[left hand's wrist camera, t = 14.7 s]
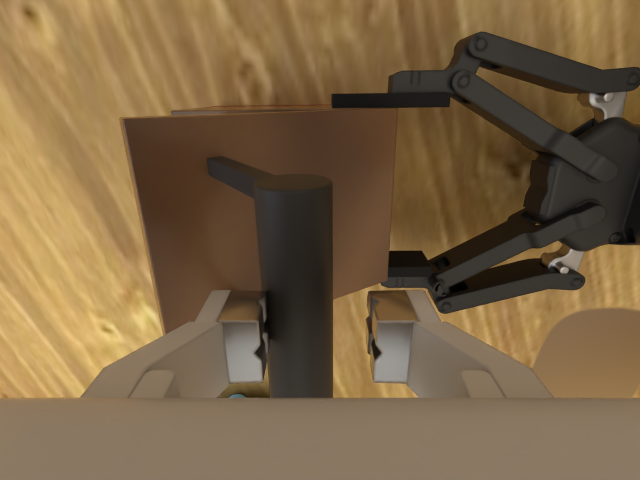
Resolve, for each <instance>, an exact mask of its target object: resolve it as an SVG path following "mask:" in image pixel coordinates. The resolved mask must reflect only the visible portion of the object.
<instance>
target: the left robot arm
mask: <svg viewBox="0 0 640 480" xmlns="http://www.w3.org/2000/svg"><path fill="white" fill-rule="evenodd" d="M367 308H368V313H369V316H368V318H367V319H366V344H367V351H368V354H370V367H371V372H372V377H373V382H374V383H407V386H408V387H409V388H410V389H411V390H412V391H413V392H414V393H415V394H416V395H417V396H418V397H419V398H217V397H218V396H219V395H220V394H221V393H222V392H223V391H224V390H225V389H226V388H227V387H228V386H229V383H263V379H264V374H265V369H266V355H267V354H268V353H269V349H270V340H271V336H270V323H269V320H268V318H267V315H268V311H269V304H268V291H247V290H214V291H212V292H211V293H210V295H209V297H208V299H207V300H206V302H205V304H204V306H203V308H202V309H201V311H200V313H199V315H198V316H197V318H196V320H195V322H188V323H186V324H184V325H182V326H180V327H179V328H177V329H175V330H173V331H171V332H169V333H167V334H166V335H164V336H162V337H160V338H158V339H156V340H155V341H153V342H151V343H149V344H147V345H145V346H143V347H142V348H140V349H138V350H136V351H134V352H132V353H131V354H129V355H127V356H125V357H123V358H121V359H120V360H118V361H116V362H114V363H112V364H110V365H108V366H107V367H105V368H103V370H102V371H101V372H100V373H99V375H98V376H97V377H96V378H95V380H94V381H93V382H92V383H91V385H90V386H89V387H88V388H87V390H86V391H85V392H84V393H83V395H82V396H81V397H80V398H0V480H640V398H554V397H553V395H552V394H551V393H550V392H549V390H548V389H547V388H546V386H545V385H544V384H543V383H542V381H541V380H540V379H539V377H538V376H537V375H536V373H535V372H534V371H533V370H532V368H530V367H528V366H526V365H524V364H523V363H521V362H519V361H517V360H515V359H513V358H512V357H510V356H508V355H506V354H504V353H503V352H501V351H499V350H497V349H495V348H493V347H492V346H490V345H488V344H486V343H484V342H483V341H481V340H479V339H477V338H475V337H474V336H472V335H470V334H468V333H466V332H464V331H463V330H461V329H459V328H457V327H455V326H454V325H452V324H450V323H448V322H441V320H440V318H439V317H438V315H437V313H436V311H435V309H434V308H433V306H432V304H431V302H430V300H429V298H428V297H427V295H426V293H425V291H423V290H392V291H369V292H368V296H367Z"/></svg>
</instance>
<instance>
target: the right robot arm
mask: <svg viewBox="0 0 640 480" xmlns="http://www.w3.org/2000/svg"><path fill="white" fill-rule="evenodd" d="M478 67H482V68H485V69H488V70H491V71H494V72H498V73H501V74H504V75H507V76H510V77H514V78H517V79H520V80H523V81H526V82H530V83H533V84H536V85H539V86H542V87H546V88H549V89H552V90H555V91H559V92H563V93H571V94H578V96H577V100H578V101H580V104H581V105H582V106H584V107H588V108H590V109H592V110H593V112H594V118H593V119H591V120H589V121H587V122H586V123H584V124H583V125H581V126H580V127H578V128H577V129H575V130H573V131H572V132H570V133H567V132H565V131H563V130H560V129H558V128H556V127H554V126H553V125H551V124H550V123H548V122H547V121H545V120H544V119H542V118H540V117H539V116H537V115H536V114H534V113H533V112H531V111H530V110H528V109H527V108H525V107H524V106H522V105H521V104H519V103H518V102H516V101H515V100H513V99H512V98H510V97H509V96H507V95H506V94H504V93H503V92H501V91H500V90H498V89H497V88H495V87H494V86H492V85H491V84H489V83H488V82H486V81H484V80H483V79H481V78H480V77H478V76H477V75H475V74H476V72H477V70H478ZM639 85H640V68H638V67H630V68H619V69H607V70H601V69H598V68H595V67H592V66H589V65H586V64H583V63H580V62H577V61H573V60H570V59H567V58H564V57H561V56H558V55H555V54H552V53H549V52H546V51H542V50H539V49H536V48H533V47H530V46H527V45H524V44H521V43H518V42H515V41H512V40H508V39H505V38H502V37H499V36H496V35H493V34H490V33H487V32H479V33H476V34H473V35H471V36H468V37H466V38H464V39H461V40H460V41H459V42H457V44H456V46H455V48H454V55H453V58H452V60H451V62H450V64H449V65H448V67H447V68H445V69H444V70H424V71H400V72H397V73H395V74H393V75H390V76H389V81H388V93H371V94H332V108H371V107H386V108H408V107H449V104H450V97H452V98H453V99H455V100H456V101H458V102H459V103H461V104H463V105H464V106H466V107H467V108H469V109H470V110H472V111H473V112H475V113H477V114H478V115H480V116H481V117H483V118H484V119H486V120H488V121H489V122H491V123H492V124H494V125H495V126H497V127H499V128H500V129H502V130H503V131H505V132H506V133H508V134H509V135H511V136H513V137H514V138H516V139H517V140H519V141H520V142H522V144H523V145H524V146H526V147H527V148H529V149H531V150H532V151H534V152H535V153H537V154H538V155H539V156H538V158H537V160H532V164H531V169H530V178H531V185H530V187H529V189H528V191H527V193H526V195H525V200H524V205H523V206H524V207H526V208H524V209H522V210H521V211H519V212H517V213H515V214H513V215H511V216H509V217H508V220H507V221H506V222H504V223H502V224H500V225H498V226H496V227H494V228H492V229H490V230H488V231H486V232H484V233H482V234H480V235H478V236H476V237H474V238H472V239H470V240H468V241H466V242H464V243H462V244H460V245H458V246H456V247H454V248H452V249H450V250H448V251H446V252H444V253H442V254H440V255H438V256H436V257H434V258H432V259H430V260H427V258H426V257H425V255H424V254H423V252H422V251H389V261H388V277H387V281H384V282H381V285H382V286H385V287H388V288H396V287H397V288H402V287H403V288H427V289H428V292H429V294H430V296H431V298H432V300H433V301H434V303H435V305H436V307H437V309H438V311H439V312H441V313H444V314H445V313H451V312H455V311H459V310H463V309H467V308H472V307H476V306H480V305H484V304H488V303H492V302H496V301H500V300H505V299H509V298H513V297H517V296H521V295H525V294H529V293H534V292H538V291H542V290H546V289H561V290H577V289H580V288H581V287H582V286H583V285H584V283H585V277H584V276H583V275H581V274H580V273H578V269H579V266H580V263H581V260H582V258H583V255H584V252H585V251H589V250H592V249H594V248H596V247H598V246H601V245H605V244H615V245H640V125H634V124H632V123H630V122H628V121H627V120H626V119H624V118H622V114H623V109H624V104H625V100H626V95H627V91H631V90H634V89H636V88H637V87H639ZM536 223H537V224H538V225H535V224H536ZM555 241H560V242H561V243H563V244H562V246H561V248H560V249H559V250H558V251H556V252H552V253H543V254H542V255H541V258H534V259H526V260H521V261H517V262H513V263H509V264H505V265H501V266H497V267H493V268H490V267H492V266H494V265H497V264H499V263H501V262H503V261H505V260H507V259H509V258H511V257H513V256H515V255H518V254H520V253H522V252H524V251H526V250H528V249H531V248H542V247H545V246H547V245H549V244H551V243H553V242H555ZM488 268H489V269H488Z"/></svg>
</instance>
